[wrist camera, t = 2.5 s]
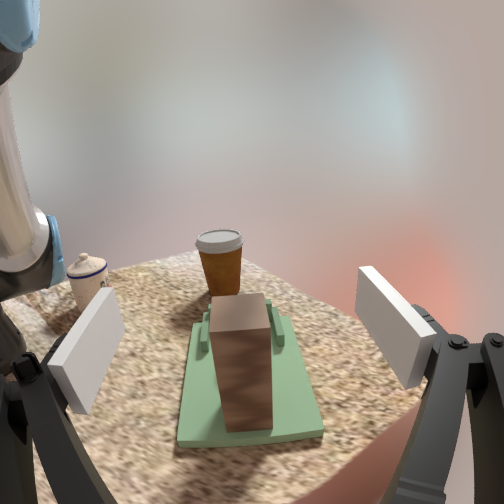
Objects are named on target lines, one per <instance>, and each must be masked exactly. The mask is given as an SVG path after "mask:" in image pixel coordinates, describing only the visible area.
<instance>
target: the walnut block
mask: <svg viewBox="0 0 504 504" xmlns="http://www.w3.org/2000/svg"><path fill="white" fill-rule="evenodd" d="M209 336H210V342H211V348H212V355H213V360H214V366H215V372H216V378H217V383H218V389H219V394H220V400H221V405H222V410H223V415H224V420H225V426H226V430H227V433H232V432H247V431H259V430H270V429H273V399H272V357H271V327H270V322H269V317H268V313H267V308H266V304H265V299H264V294H263V293H256V294H243V295H230V296H216V297H212V302H211V313H210V325H209Z"/></svg>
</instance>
